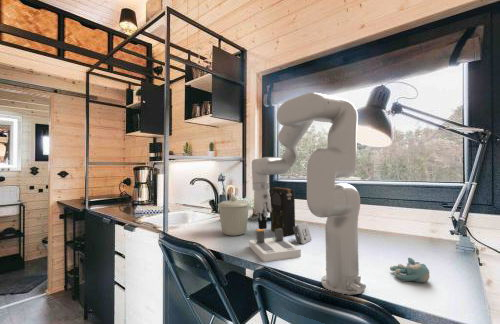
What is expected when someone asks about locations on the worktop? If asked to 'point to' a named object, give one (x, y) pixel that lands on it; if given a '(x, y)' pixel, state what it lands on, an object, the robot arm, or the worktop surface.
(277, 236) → the block
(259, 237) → the block
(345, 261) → the robot arm
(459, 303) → the worktop surface
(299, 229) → the electrical switch
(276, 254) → the white slotted tray
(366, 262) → the worktop surface
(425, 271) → the stuffed animal
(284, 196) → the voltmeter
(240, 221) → the canister
